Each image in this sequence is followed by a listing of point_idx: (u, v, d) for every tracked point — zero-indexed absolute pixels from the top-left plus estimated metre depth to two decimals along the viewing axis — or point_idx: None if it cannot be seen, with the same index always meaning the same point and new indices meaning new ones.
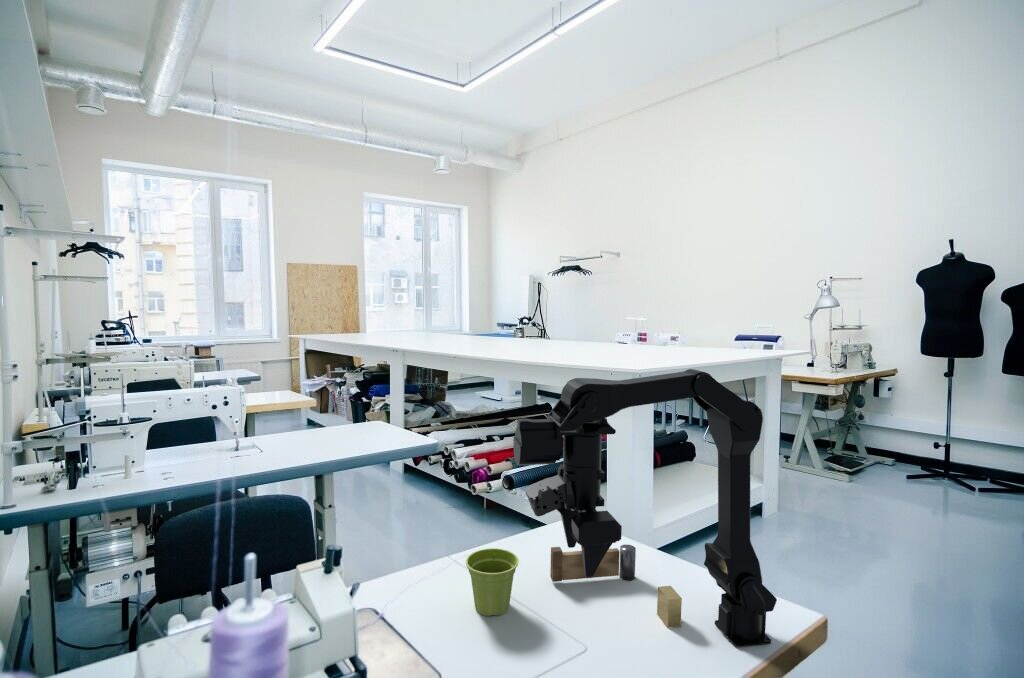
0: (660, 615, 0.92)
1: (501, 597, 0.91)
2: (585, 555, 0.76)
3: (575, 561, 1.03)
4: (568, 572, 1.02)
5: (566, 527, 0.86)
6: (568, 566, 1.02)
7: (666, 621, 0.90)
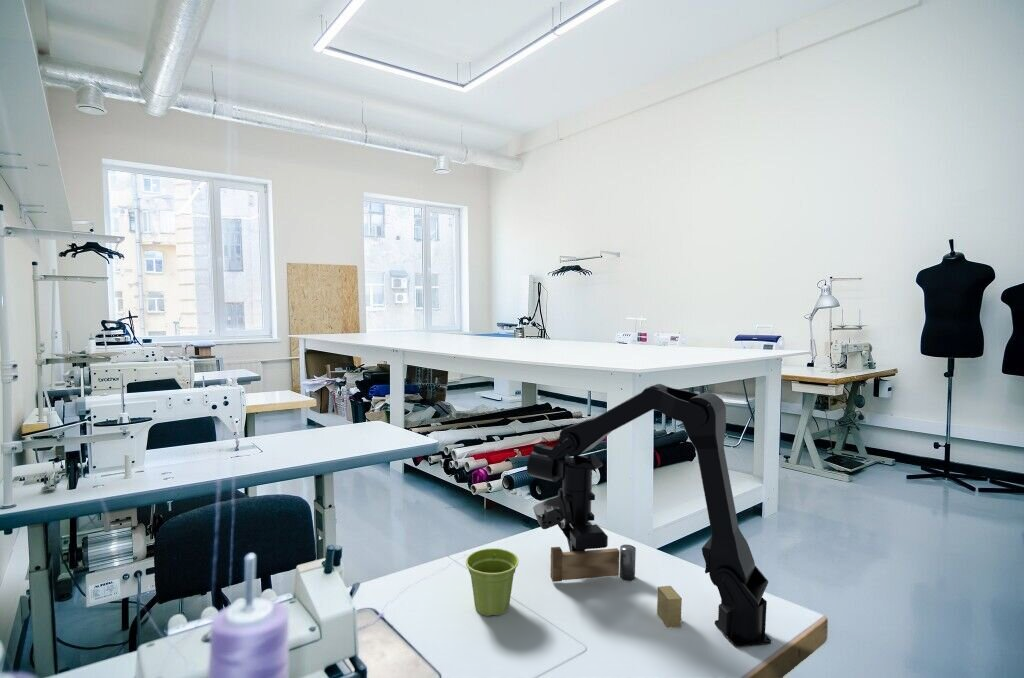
0: (660, 615, 0.92)
1: (501, 597, 0.91)
2: (572, 547, 1.04)
3: (575, 561, 1.03)
4: (568, 572, 1.02)
5: None
6: (568, 566, 1.02)
7: (666, 621, 0.90)
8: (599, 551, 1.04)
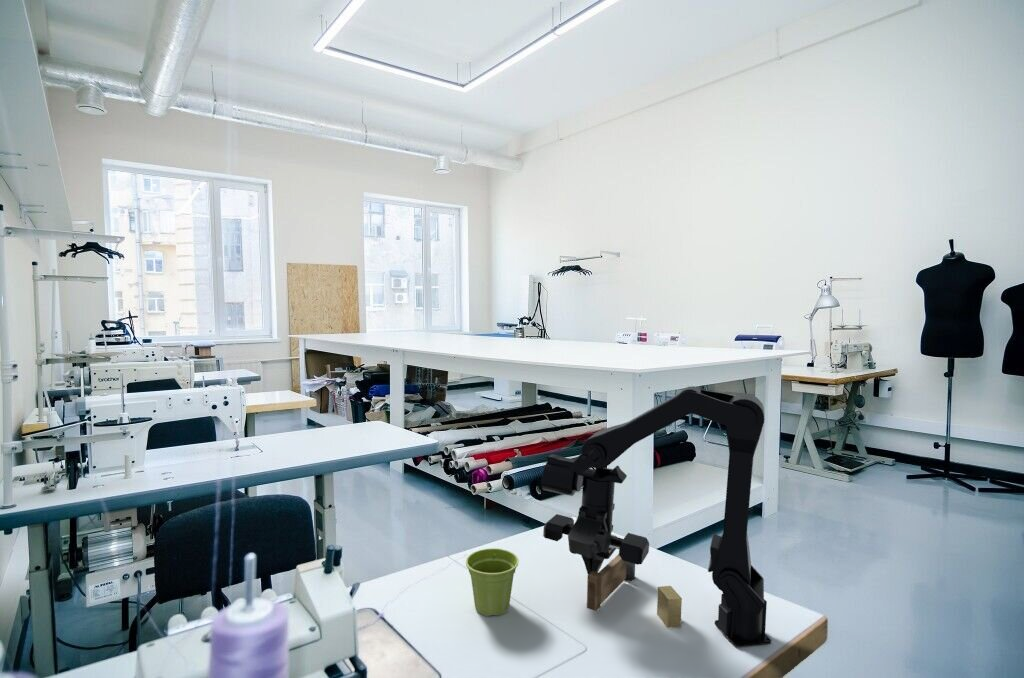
0: (660, 615, 0.92)
1: (501, 597, 0.91)
2: (598, 566, 0.96)
3: (606, 580, 0.96)
4: (602, 594, 0.95)
5: (591, 566, 0.97)
6: (602, 588, 0.95)
7: (666, 621, 0.90)
8: (616, 561, 1.00)
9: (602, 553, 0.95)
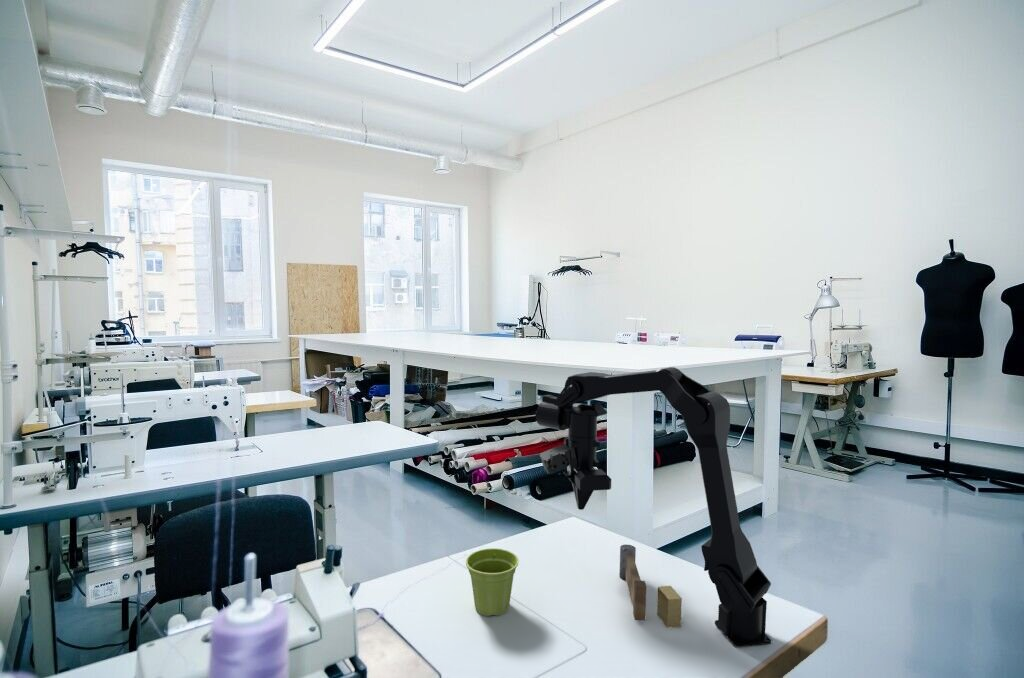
0: (660, 615, 0.92)
1: (501, 597, 0.91)
2: (578, 493, 1.07)
3: None
4: None
5: None
6: None
7: (666, 621, 0.90)
8: (633, 563, 0.99)
9: None
